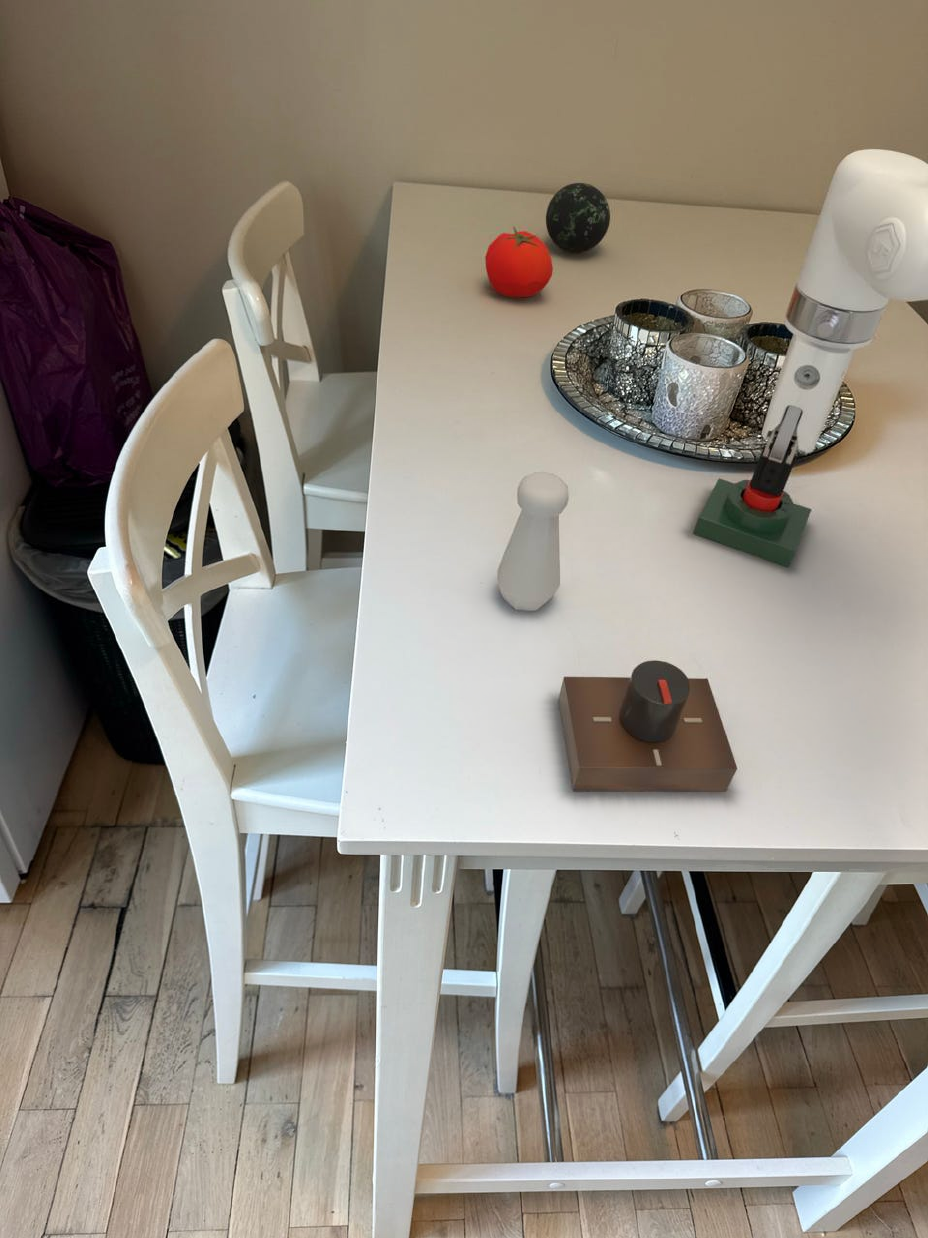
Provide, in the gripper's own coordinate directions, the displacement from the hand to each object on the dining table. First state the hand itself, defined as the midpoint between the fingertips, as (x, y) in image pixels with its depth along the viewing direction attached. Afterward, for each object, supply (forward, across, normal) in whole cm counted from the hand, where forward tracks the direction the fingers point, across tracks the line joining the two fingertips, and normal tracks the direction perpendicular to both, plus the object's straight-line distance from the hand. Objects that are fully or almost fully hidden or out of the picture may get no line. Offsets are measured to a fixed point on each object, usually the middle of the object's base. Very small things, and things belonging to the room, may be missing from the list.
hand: (766, 487), depth 88 cm
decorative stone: (+5, +57, +43) cm, 72 cm away
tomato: (+5, +37, +44) cm, 58 cm away
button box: (+5, 0, 0) cm, 5 cm away
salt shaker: (+6, -22, +16) cm, 28 cm away
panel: (+6, -33, +1) cm, 33 cm away
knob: (+2, -33, +1) cm, 33 cm away
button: (+2, 0, 0) cm, 2 cm away
